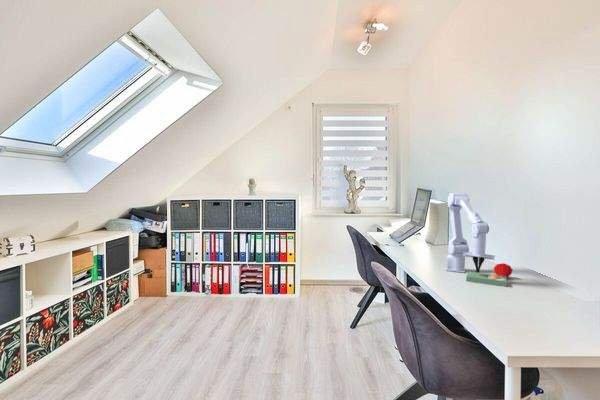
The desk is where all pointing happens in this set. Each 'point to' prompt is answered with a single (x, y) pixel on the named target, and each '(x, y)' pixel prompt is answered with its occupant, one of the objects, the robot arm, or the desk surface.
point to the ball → (494, 276)
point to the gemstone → (503, 270)
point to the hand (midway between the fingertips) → (477, 271)
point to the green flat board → (486, 279)
